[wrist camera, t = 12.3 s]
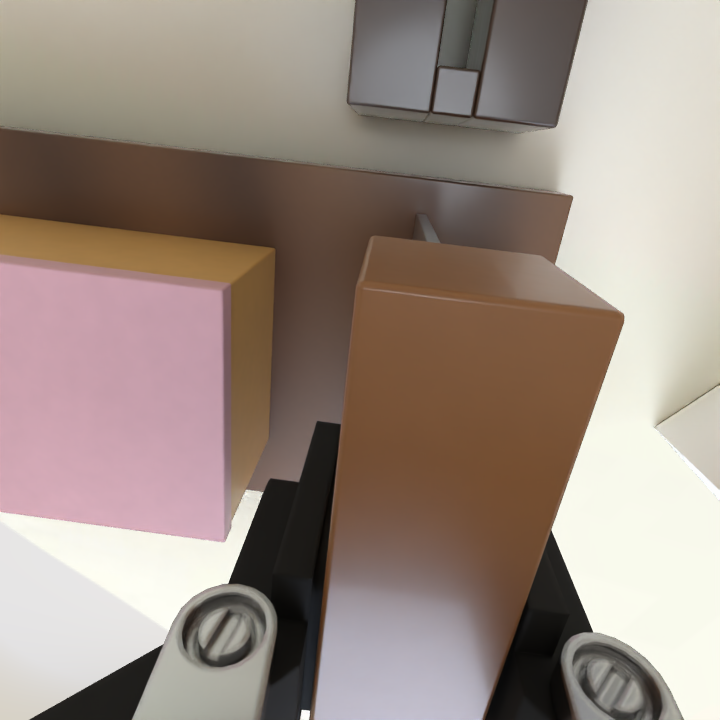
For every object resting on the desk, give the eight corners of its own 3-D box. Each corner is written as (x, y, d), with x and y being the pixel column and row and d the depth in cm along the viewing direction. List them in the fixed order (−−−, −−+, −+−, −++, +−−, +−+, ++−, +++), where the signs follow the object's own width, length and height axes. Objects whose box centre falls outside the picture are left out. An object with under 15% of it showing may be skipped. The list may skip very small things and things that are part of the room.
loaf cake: (2, 405, 18) (-137, 494, 13) (-41, 207, 15) (-238, 232, 10) (270, 440, 18) (224, 543, 13) (277, 246, 15) (223, 289, 10)
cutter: (345, 496, 18) (292, 876, 9) (382, 191, 14) (356, 279, 4) (408, 504, 18) (424, 896, 9) (466, 201, 14) (631, 314, 4)
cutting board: (7, 434, 20) (-22, 454, 19) (-63, 118, 15) (-108, 115, 14) (478, 496, 20) (485, 522, 18) (557, 191, 15) (574, 195, 14)
